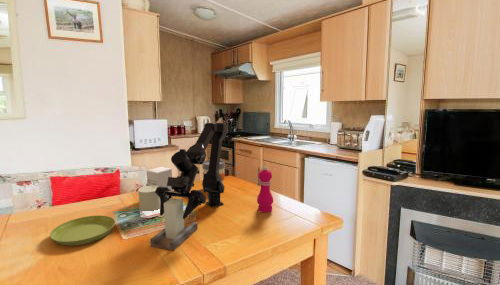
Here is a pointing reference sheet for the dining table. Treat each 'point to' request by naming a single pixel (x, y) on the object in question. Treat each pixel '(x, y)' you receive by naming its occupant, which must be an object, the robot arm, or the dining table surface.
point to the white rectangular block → (173, 218)
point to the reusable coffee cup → (221, 168)
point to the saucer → (82, 230)
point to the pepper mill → (265, 191)
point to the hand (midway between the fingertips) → (172, 216)
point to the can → (148, 198)
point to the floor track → (172, 244)
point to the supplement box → (159, 177)
